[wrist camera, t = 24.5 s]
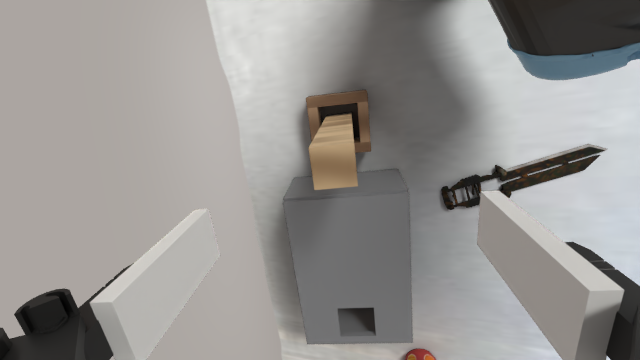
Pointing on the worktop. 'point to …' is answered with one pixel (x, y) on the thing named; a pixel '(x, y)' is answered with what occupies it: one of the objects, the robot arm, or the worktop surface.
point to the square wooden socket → (339, 99)
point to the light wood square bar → (334, 153)
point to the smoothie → (419, 355)
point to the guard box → (352, 258)
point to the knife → (523, 171)
